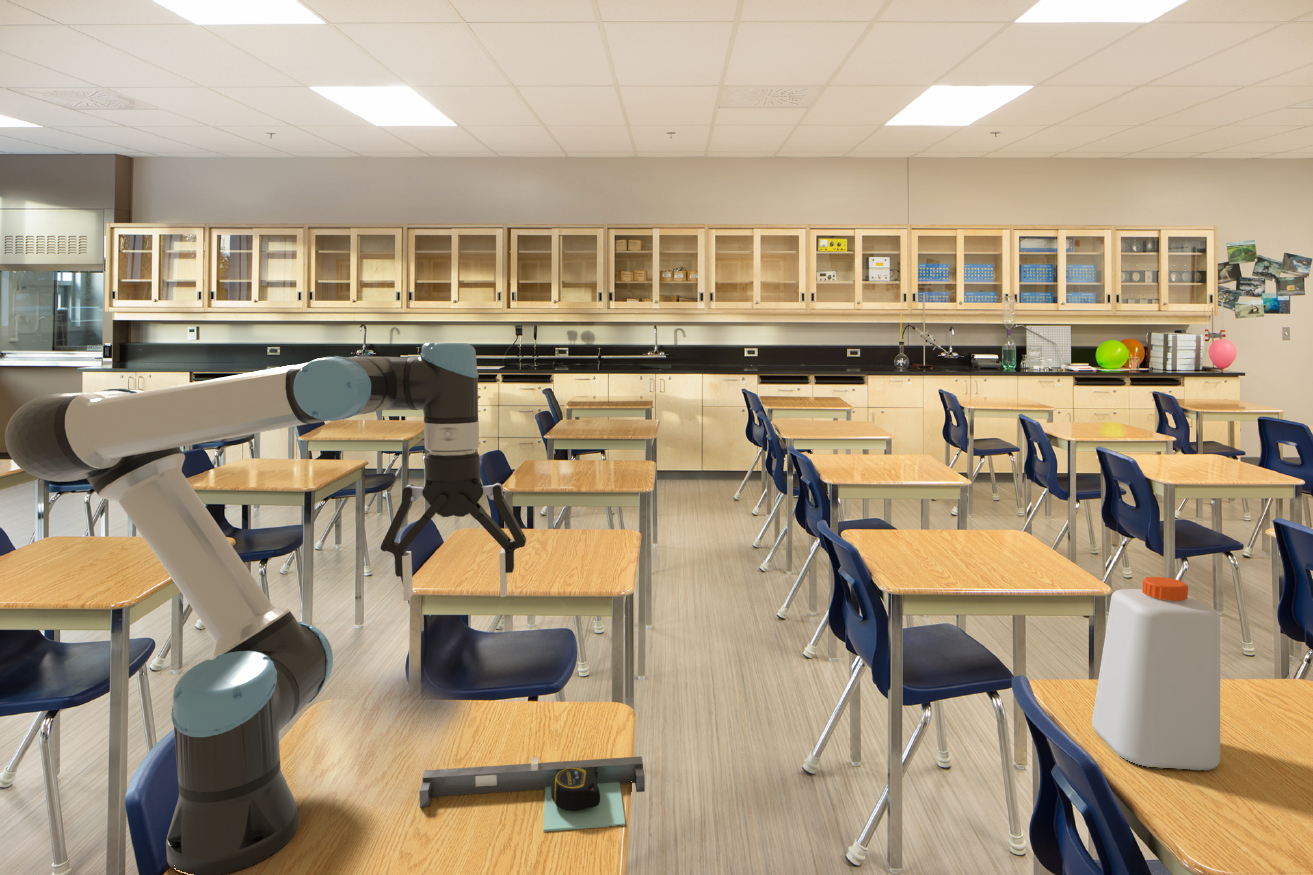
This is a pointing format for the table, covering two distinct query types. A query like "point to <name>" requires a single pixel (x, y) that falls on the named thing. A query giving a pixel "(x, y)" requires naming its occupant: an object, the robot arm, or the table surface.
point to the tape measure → (575, 789)
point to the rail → (524, 777)
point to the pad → (586, 811)
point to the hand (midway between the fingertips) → (456, 596)
